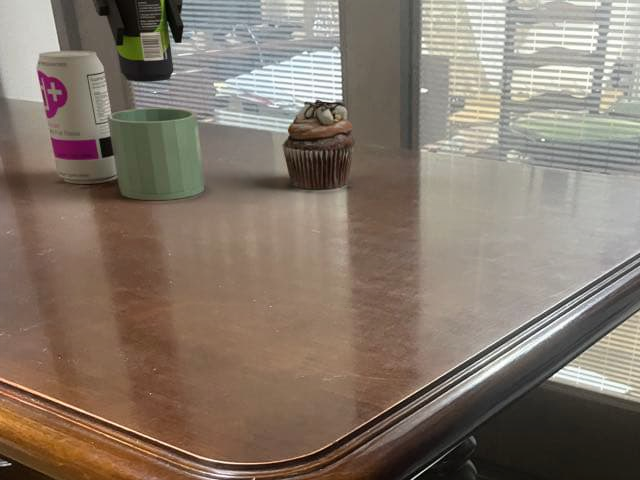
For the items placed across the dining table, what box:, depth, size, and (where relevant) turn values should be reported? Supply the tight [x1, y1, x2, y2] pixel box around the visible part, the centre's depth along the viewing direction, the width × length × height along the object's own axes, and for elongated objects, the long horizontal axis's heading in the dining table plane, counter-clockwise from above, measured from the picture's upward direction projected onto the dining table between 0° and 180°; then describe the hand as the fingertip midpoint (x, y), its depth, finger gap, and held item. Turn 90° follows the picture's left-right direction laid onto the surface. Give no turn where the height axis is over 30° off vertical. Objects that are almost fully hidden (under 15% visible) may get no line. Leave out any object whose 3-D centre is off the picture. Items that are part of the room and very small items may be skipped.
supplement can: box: [36, 50, 118, 185], centre depth 116 cm, size 8×8×15 cm
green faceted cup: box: [107, 107, 206, 201], centre depth 112 cm, size 11×11×9 cm
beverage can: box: [115, 0, 175, 83], centre depth 103 cm, size 6×6×15 cm
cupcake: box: [281, 99, 356, 190], centre depth 116 cm, size 10×10×10 cm
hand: (150, 35), depth 102 cm, fingers closed on beverage can, 6 cm apart
